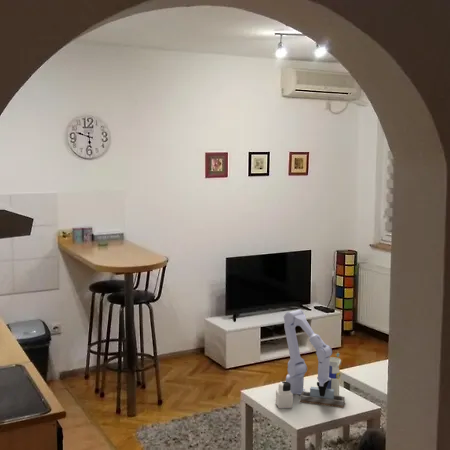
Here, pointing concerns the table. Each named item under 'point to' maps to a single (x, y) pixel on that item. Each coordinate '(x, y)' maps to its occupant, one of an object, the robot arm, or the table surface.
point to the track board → (322, 400)
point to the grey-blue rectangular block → (315, 393)
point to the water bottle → (334, 374)
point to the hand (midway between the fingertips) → (322, 394)
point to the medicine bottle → (284, 395)
